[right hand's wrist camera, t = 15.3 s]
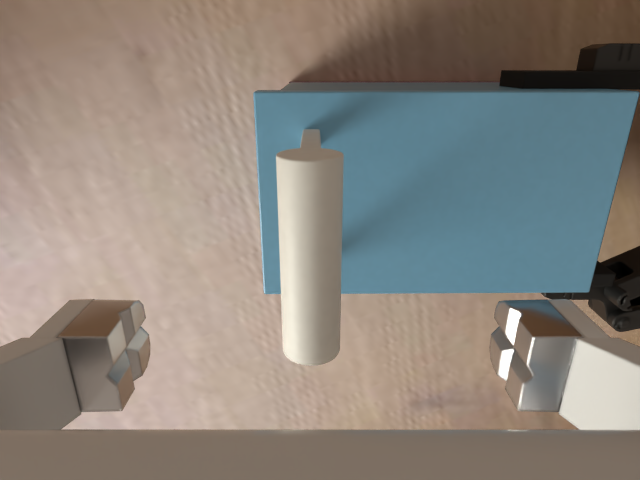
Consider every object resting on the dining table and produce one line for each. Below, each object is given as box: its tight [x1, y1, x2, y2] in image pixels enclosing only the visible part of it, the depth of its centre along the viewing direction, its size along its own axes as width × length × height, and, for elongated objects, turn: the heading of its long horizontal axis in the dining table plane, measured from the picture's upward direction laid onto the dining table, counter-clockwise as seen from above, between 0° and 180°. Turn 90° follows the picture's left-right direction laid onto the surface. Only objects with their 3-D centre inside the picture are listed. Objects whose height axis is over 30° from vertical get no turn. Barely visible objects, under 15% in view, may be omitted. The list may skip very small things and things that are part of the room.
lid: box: [254, 90, 639, 366], centre depth 17 cm, size 16×9×8 cm, turn 90°
